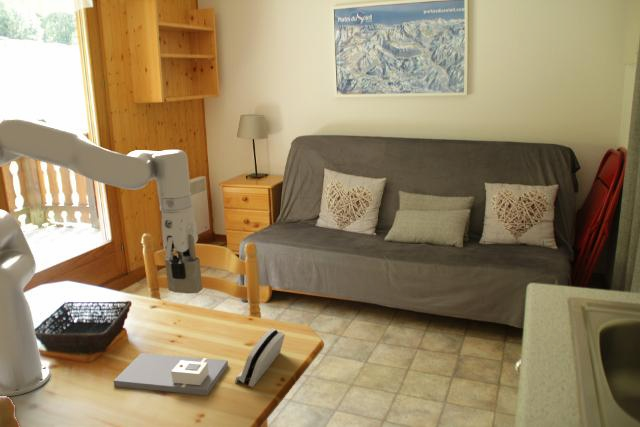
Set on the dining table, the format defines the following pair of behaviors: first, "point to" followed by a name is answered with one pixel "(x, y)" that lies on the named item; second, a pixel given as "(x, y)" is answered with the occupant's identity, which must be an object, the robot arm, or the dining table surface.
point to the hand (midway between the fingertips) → (183, 273)
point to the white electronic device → (190, 372)
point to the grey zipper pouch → (261, 357)
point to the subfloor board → (167, 374)
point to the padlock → (191, 270)
